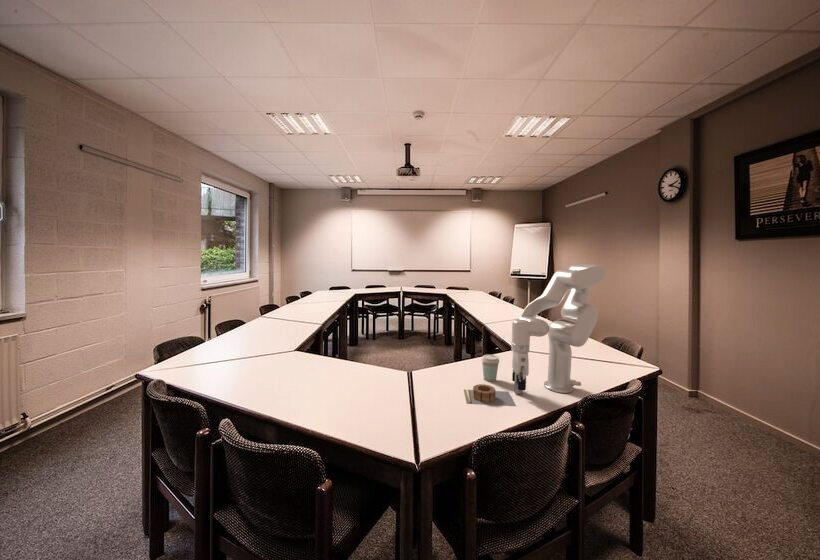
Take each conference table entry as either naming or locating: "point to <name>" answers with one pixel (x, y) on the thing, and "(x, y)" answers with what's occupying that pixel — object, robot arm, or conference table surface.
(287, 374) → the conference table surface
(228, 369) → the conference table surface
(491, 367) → the coffee cup
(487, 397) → the brown wooden ring
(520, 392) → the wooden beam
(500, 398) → the mat
